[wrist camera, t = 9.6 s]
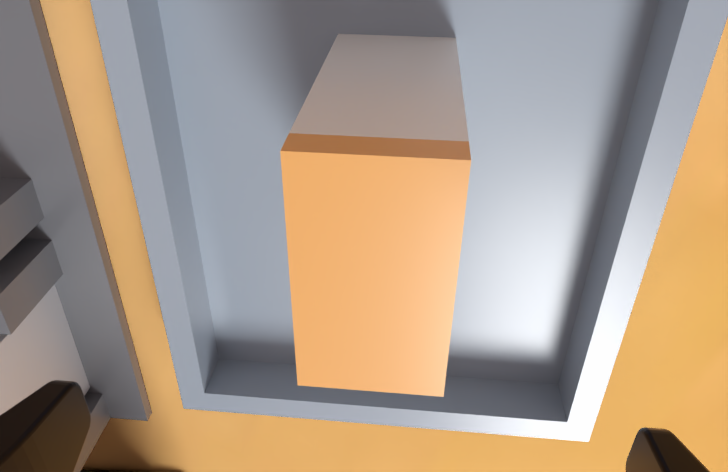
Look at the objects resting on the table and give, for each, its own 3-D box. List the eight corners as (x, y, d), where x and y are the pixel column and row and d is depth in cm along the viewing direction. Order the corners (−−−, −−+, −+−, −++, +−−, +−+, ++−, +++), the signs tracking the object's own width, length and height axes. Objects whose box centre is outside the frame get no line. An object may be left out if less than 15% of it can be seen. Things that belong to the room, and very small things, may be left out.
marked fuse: (439, 216, 20) (443, 396, 14) (340, 211, 21) (297, 385, 14) (455, 37, 17) (471, 160, 11) (338, 33, 17) (280, 151, 11)
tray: (575, 392, 25) (588, 441, 23) (203, 364, 26) (183, 408, 24) (795, -370, 13) (868, -412, 11) (64, -359, 14) (0, -394, 12)
